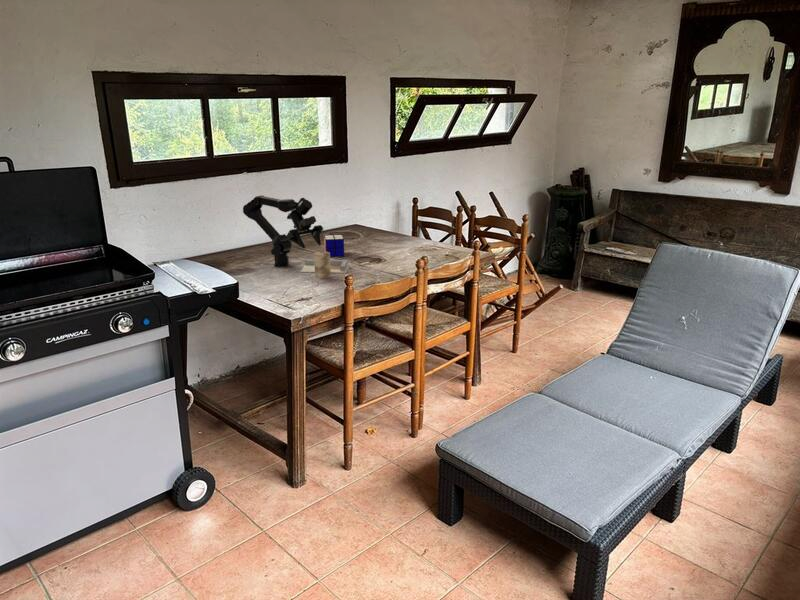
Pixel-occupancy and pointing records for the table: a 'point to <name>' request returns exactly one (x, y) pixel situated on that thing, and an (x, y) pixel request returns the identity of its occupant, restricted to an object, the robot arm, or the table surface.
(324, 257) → the birch block
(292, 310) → the table surface
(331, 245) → the puzzle cube
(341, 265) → the tray
